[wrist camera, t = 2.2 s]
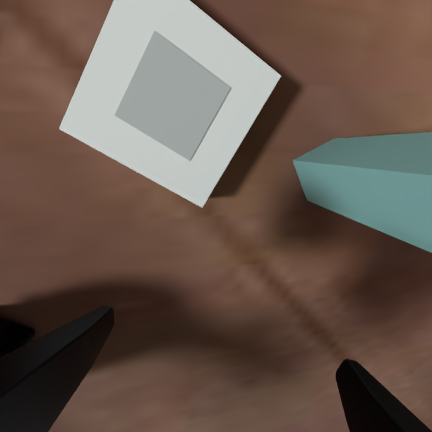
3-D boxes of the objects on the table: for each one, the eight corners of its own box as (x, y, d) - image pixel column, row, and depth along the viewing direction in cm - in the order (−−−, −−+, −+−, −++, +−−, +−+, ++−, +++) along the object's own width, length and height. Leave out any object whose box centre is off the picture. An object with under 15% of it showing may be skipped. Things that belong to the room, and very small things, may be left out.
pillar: (306, 200, 20) (465, 267, 9) (292, 160, 19) (455, 178, 8) (345, 180, 20) (555, 220, 9) (334, 138, 19) (560, 123, 8)
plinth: (199, 198, 19) (202, 208, 16) (81, 132, 16) (58, 128, 13) (264, 88, 17) (281, 75, 14) (143, -8, 14) (133, -48, 11)
